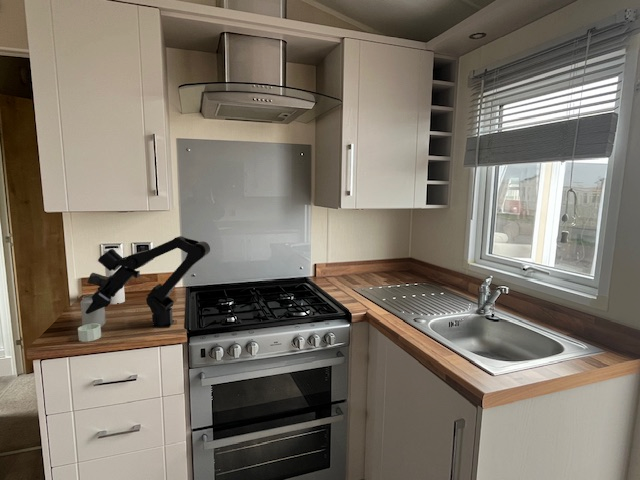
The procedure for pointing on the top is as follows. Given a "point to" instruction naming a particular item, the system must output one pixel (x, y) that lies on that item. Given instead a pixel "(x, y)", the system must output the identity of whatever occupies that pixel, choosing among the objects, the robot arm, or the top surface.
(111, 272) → the cylindrical container
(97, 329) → the bowl
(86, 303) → the can
